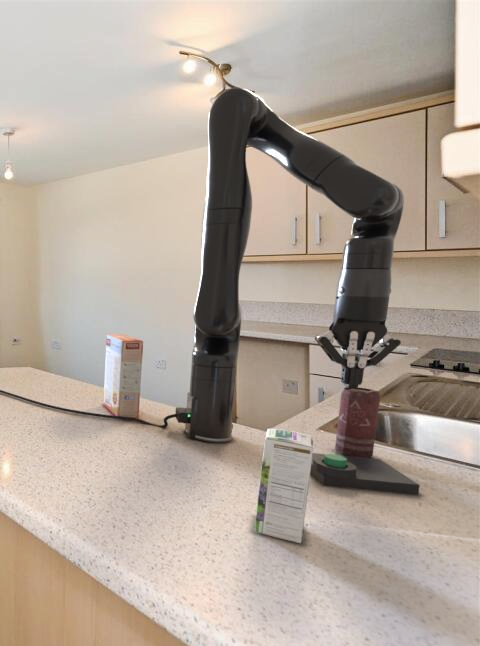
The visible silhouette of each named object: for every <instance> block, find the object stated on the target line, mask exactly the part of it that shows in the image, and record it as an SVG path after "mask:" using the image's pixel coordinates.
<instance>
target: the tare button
mask: <svg viewBox="0 0 480 646" xmlns="http://www.w3.org/2000/svg"><path fill="white" fill-rule="evenodd" d="M324 454H325V455H324V464H327V465H330V466H334V467H342V468H344V467H346V461H347V459H346V458H345V457H343V455H341V454H336V453H335V454H334V453H324Z"/></svg>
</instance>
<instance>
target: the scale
mask: <svg viewBox="0 0 480 646" xmlns="http://www.w3.org/2000/svg"><path fill="white" fill-rule="evenodd" d="M325 454H326V453H317V452H312V461H311V471H310V475H311V476H312V477H313V478H314V479H316V481H318V482H319V483H320V485H322V486H324V487H325V486H327V487H334V488H335V487H336V488H345V489H356V490H365V491H374V492H384V493H393V494H405V495H415V496H419V492H420V484H419V483H417V482H416V481H415V480H413V479H411V478H410V477H409V476H407V475H405V474H404V473H402V472H400V471H399V470H397V469H395V468H394V467H393V466H391V465H389V464H388V463H387V462H385V461H383V460H382V459H380V458H374V457H373V458H372V457H371V458H363V457H352V456H343V455H342V456H343V457H345V458H346V459H347V461H346V467H344V468H342V467H334V466H330V465H327V464H324V455H325Z"/></svg>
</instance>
